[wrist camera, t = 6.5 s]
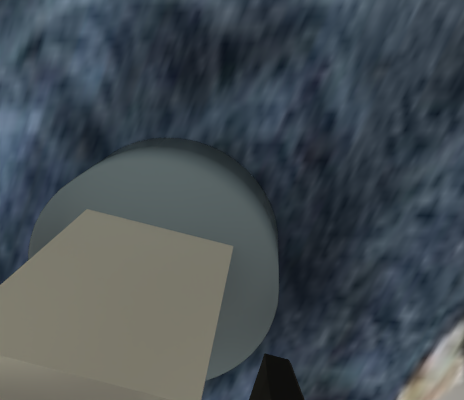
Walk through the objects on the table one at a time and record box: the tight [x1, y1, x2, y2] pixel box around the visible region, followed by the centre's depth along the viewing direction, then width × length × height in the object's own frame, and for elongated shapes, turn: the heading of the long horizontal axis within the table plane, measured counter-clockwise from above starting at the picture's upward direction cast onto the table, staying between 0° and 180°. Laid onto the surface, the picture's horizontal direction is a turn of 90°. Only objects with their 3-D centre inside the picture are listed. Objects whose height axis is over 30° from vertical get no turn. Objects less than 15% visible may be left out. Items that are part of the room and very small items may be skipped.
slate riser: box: [28, 138, 279, 381], centre depth 15 cm, size 8×8×4 cm
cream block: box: [0, 209, 233, 400], centre depth 11 cm, size 4×4×6 cm
